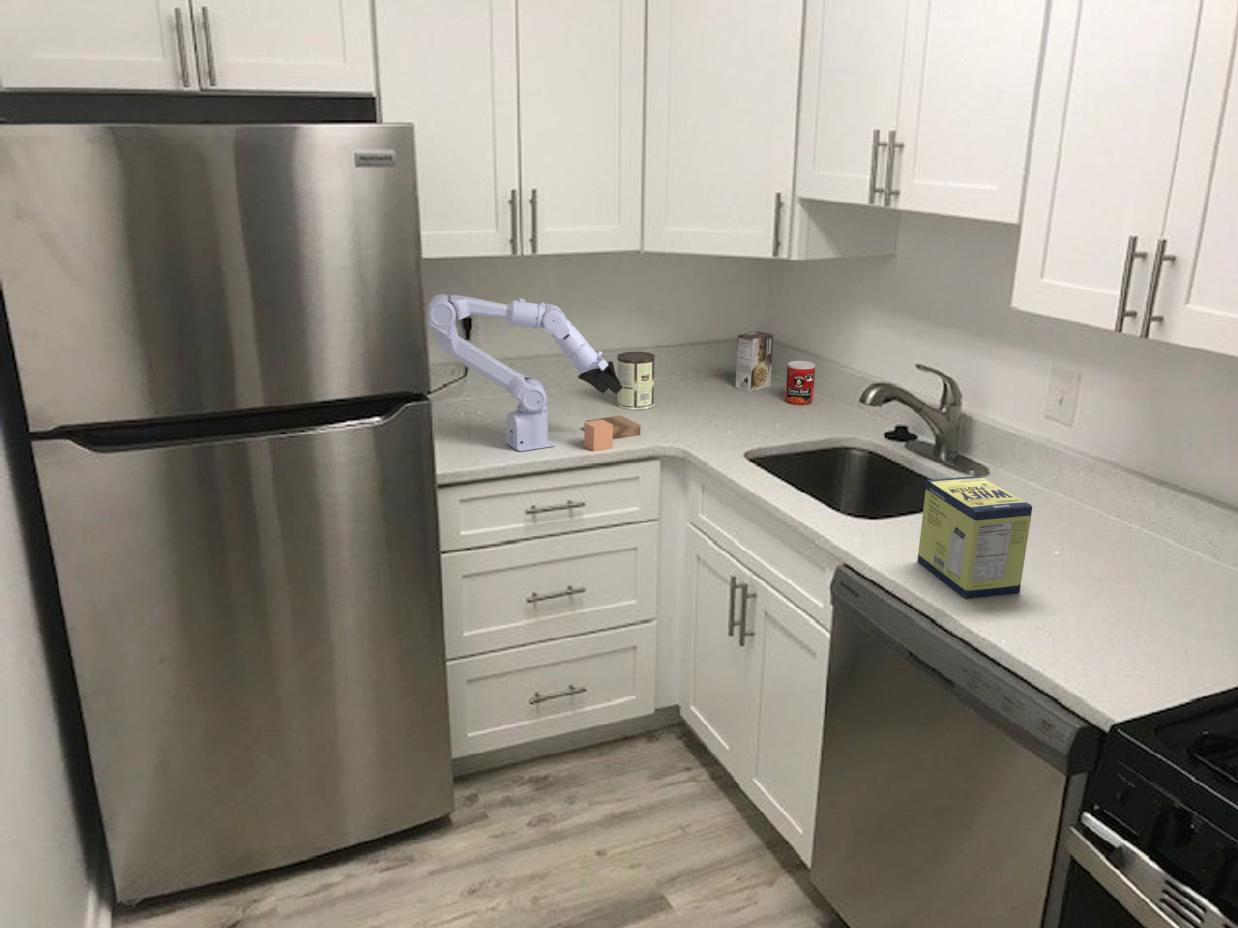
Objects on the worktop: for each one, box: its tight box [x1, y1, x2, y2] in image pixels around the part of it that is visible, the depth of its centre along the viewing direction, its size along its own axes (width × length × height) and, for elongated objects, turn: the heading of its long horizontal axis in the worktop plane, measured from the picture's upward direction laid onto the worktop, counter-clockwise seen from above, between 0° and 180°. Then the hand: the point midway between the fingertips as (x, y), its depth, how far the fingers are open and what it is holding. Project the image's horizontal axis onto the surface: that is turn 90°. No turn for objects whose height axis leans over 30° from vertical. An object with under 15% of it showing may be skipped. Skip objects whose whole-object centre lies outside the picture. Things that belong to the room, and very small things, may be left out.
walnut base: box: [585, 415, 641, 440], centre depth 243 cm, size 10×10×3 cm
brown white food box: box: [735, 330, 774, 393], centre depth 286 cm, size 9×6×16 cm
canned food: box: [784, 360, 816, 406], centre depth 272 cm, size 8×8×11 cm
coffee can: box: [617, 351, 656, 411], centre depth 266 cm, size 10×10×14 cm
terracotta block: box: [583, 420, 614, 453], centre depth 231 cm, size 5×5×6 cm
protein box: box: [916, 475, 1033, 599], centre depth 163 cm, size 10×16×16 cm
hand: (612, 390), depth 232 cm, fingers open, 7 cm apart
